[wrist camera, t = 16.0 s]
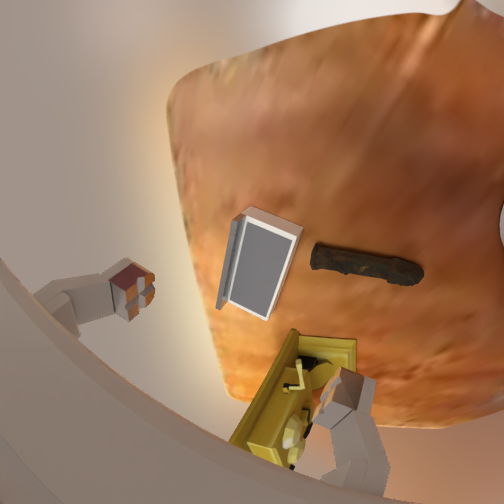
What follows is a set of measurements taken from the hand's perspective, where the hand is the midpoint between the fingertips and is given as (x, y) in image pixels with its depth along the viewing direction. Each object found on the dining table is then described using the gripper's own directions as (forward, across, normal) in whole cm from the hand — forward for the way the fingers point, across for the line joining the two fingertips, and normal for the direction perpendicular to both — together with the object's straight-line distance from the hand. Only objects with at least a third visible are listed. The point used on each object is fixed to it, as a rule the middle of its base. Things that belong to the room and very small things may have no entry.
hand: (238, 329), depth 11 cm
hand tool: (+40, -3, +15) cm, 43 cm away
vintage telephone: (+37, -12, +43) cm, 58 cm away
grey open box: (+37, +9, +24) cm, 45 cm away
